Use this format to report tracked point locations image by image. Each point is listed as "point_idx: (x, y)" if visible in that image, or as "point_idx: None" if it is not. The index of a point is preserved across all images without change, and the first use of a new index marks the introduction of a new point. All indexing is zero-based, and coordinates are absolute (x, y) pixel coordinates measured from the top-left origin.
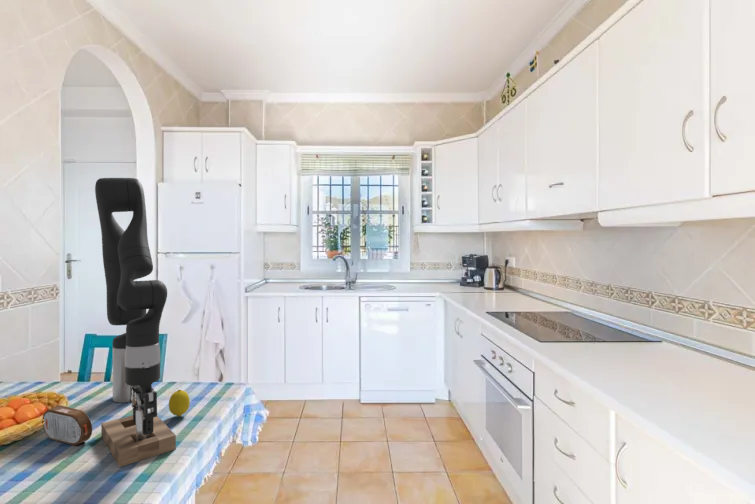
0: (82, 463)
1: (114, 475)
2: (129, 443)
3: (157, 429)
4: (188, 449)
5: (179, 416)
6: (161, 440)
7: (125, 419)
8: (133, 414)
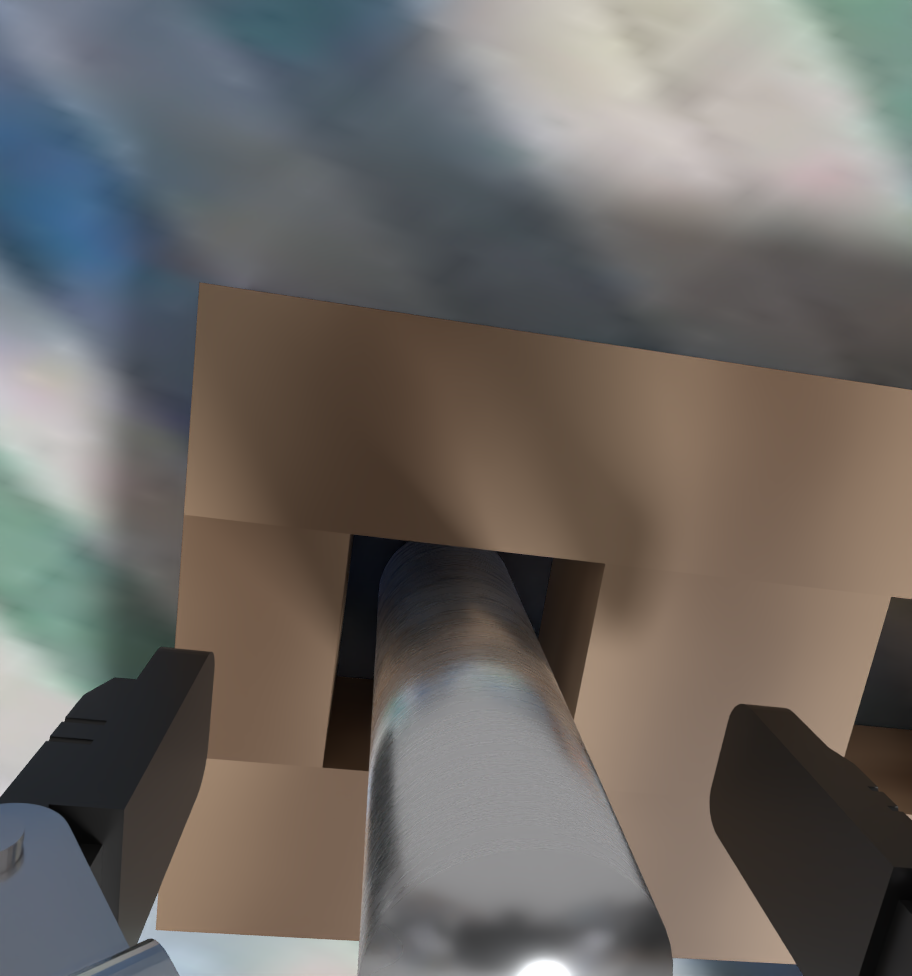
0: (667, 47)
1: (100, 186)
2: (367, 472)
3: None
4: None
5: None
6: None
7: None
8: (824, 780)
